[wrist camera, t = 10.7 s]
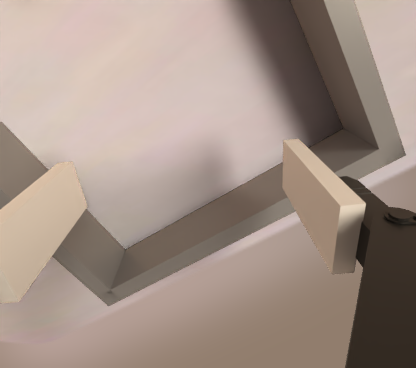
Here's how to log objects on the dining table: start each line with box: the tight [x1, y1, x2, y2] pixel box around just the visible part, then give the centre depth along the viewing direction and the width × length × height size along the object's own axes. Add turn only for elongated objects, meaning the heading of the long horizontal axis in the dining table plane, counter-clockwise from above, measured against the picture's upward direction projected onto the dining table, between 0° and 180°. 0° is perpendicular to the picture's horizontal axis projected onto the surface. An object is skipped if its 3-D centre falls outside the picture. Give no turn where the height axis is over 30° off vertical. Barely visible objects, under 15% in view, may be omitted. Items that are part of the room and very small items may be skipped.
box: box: [0, 0, 406, 306], centre depth 18 cm, size 14×22×4 cm, turn 122°
